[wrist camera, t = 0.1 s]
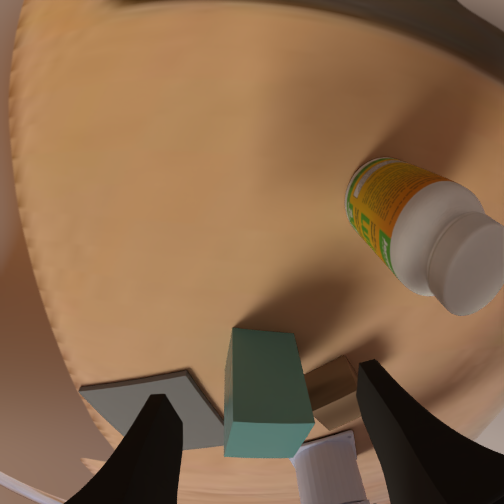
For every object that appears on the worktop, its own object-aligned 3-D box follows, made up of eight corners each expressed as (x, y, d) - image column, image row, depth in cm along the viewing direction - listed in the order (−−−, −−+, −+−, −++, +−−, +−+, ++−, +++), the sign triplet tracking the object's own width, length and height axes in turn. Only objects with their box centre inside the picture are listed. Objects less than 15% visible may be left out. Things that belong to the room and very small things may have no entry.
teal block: (279, 374, 24) (293, 457, 17) (224, 369, 23) (223, 456, 16) (293, 333, 22) (315, 423, 15) (232, 327, 21) (233, 421, 14)
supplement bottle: (325, 199, 18) (402, 284, 9) (385, 138, 16) (503, 173, 7) (376, 253, 19) (454, 350, 11) (429, 198, 18) (531, 265, 9)
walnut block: (359, 377, 25) (372, 410, 21) (320, 396, 26) (329, 430, 22) (343, 353, 23) (357, 389, 20) (301, 375, 24) (309, 412, 20)
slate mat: (237, 438, 28) (237, 443, 28) (143, 448, 29) (142, 452, 29) (186, 370, 23) (185, 375, 22) (80, 387, 24) (78, 391, 24)
